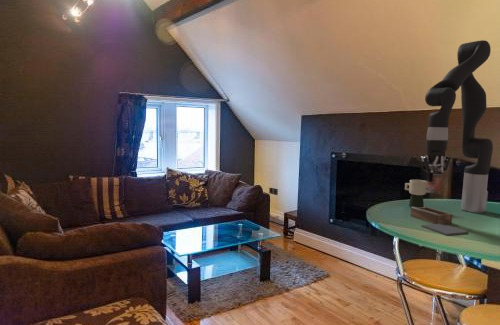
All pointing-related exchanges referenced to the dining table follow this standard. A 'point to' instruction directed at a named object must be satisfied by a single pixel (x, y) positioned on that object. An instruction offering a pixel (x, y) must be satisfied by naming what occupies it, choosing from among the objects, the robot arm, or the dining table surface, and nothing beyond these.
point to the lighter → (435, 182)
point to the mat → (444, 229)
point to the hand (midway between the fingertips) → (433, 181)
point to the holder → (431, 215)
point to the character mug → (416, 192)
